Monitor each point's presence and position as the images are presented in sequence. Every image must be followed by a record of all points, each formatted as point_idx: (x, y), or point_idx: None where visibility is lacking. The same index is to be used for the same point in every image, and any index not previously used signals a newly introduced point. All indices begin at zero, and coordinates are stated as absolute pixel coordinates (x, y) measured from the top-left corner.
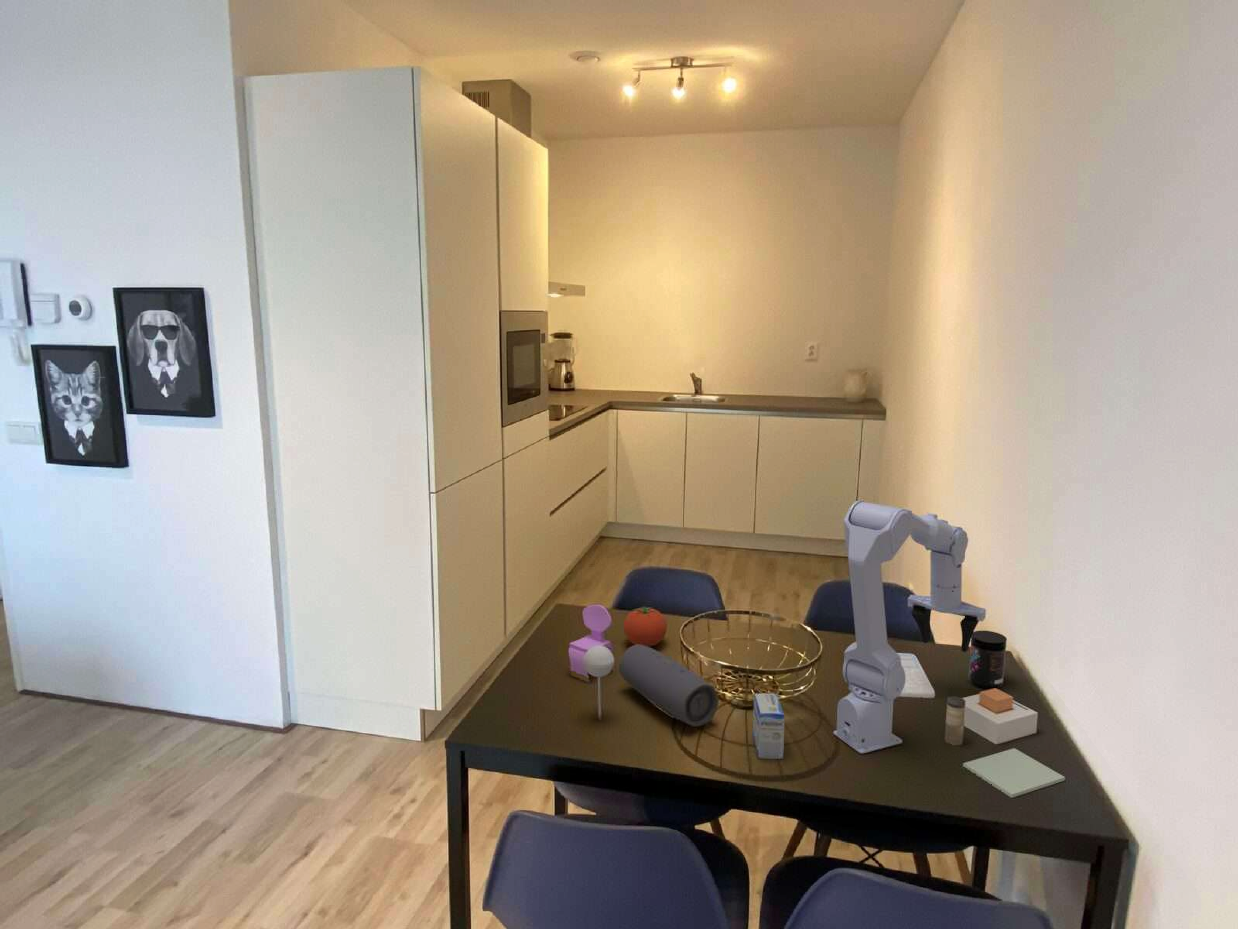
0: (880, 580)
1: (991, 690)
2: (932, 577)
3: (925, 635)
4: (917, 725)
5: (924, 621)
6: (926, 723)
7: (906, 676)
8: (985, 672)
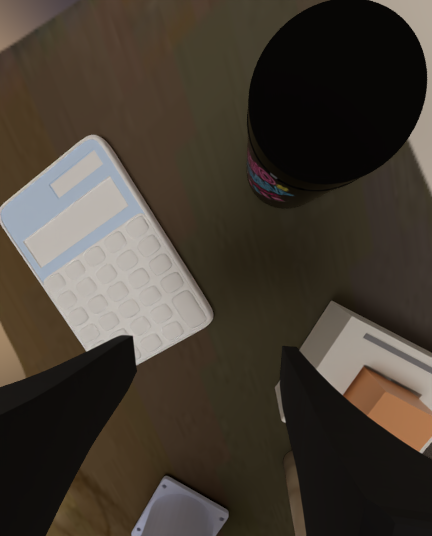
0: None
1: (378, 412)
2: None
3: (116, 405)
4: (227, 440)
5: (55, 495)
6: (237, 425)
7: (135, 284)
8: (303, 202)
